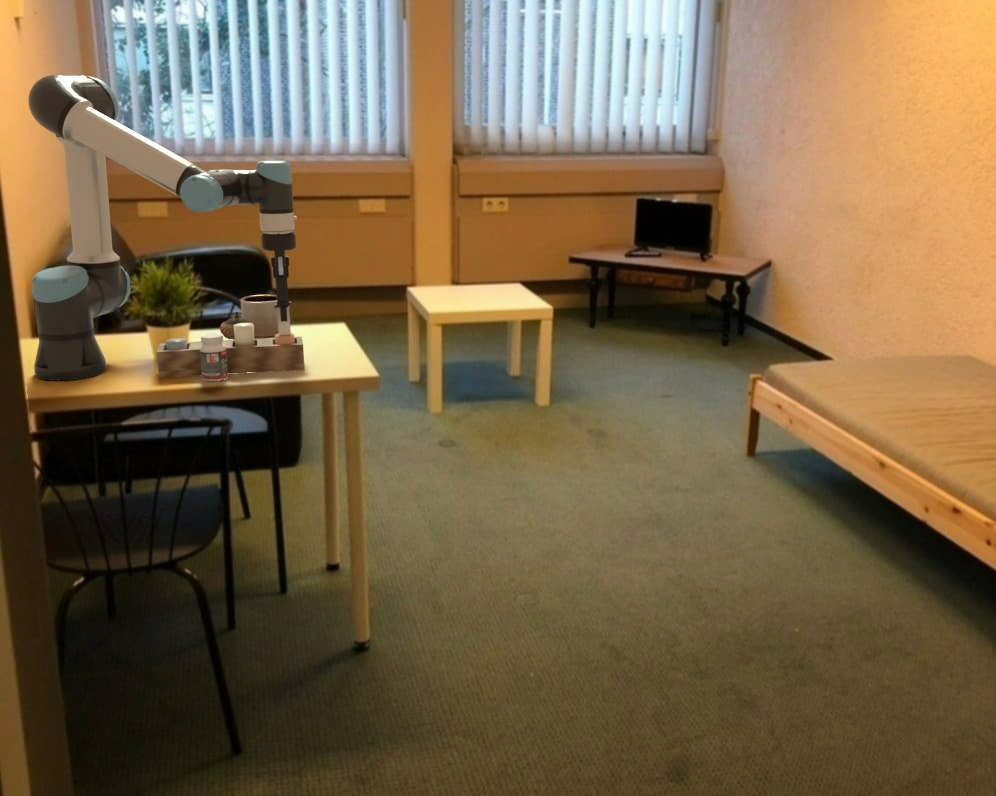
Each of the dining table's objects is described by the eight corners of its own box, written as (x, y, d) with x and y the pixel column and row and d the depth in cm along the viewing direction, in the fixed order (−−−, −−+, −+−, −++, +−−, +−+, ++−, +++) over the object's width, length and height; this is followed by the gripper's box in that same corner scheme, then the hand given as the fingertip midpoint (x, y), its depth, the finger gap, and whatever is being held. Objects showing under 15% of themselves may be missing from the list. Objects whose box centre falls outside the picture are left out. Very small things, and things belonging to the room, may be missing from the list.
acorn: (215, 351, 249) (212, 311, 246) (244, 345, 255) (241, 306, 252) (234, 356, 243) (230, 316, 241) (263, 350, 249) (260, 311, 246)
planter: (250, 328, 273) (248, 293, 270) (290, 329, 272) (287, 294, 269) (236, 338, 262) (234, 301, 260) (277, 339, 261) (275, 302, 259)
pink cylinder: (276, 360, 232) (274, 337, 230) (276, 356, 236) (274, 333, 234) (295, 359, 233) (294, 336, 231) (295, 355, 237) (293, 332, 235)
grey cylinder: (167, 367, 227) (165, 343, 225) (169, 362, 231) (166, 338, 229) (187, 366, 228) (185, 342, 226) (189, 361, 232) (186, 337, 230)
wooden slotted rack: (159, 377, 225) (156, 351, 224) (162, 368, 233) (159, 343, 231) (304, 369, 232) (303, 344, 230) (303, 361, 240) (301, 336, 238)
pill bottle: (228, 381, 223) (225, 337, 220) (202, 383, 221) (198, 339, 218) (228, 374, 228) (224, 331, 225) (201, 376, 227) (198, 333, 224)
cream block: (235, 351, 229) (233, 327, 228) (235, 346, 233) (233, 323, 232) (255, 350, 230) (253, 326, 229) (255, 345, 234) (253, 322, 233)
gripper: (296, 234, 221) (302, 339, 227) (294, 227, 233) (300, 327, 240) (260, 235, 219) (268, 341, 226) (260, 228, 231) (268, 328, 238)
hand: (284, 334), depth 233 cm, fingers closed
